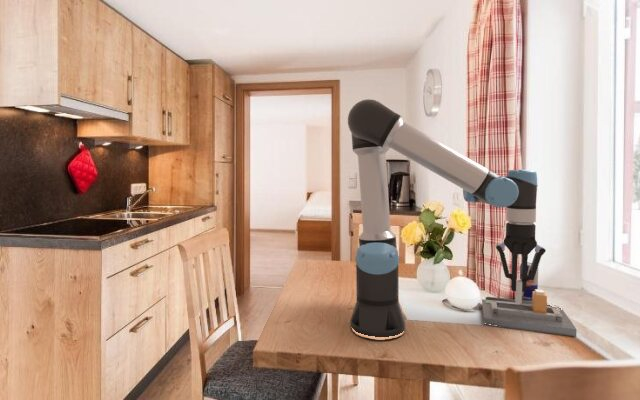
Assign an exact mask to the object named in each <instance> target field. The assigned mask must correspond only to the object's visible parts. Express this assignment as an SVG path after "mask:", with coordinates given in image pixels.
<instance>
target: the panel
mask: <svg viewBox="0 0 640 400" xmlns="http://www.w3.org/2000/svg"><path fill="white" fill-rule="evenodd" d="M481 309H482V317H484V318H483V324H484V323H486V324H491V325H497V326H496V327H498V326H501V327H500V328H507V329H515V330H522V331H530V332H539V333H547V334H554V335H560V336H561V335H562V336H568V337H577V328H576V326H575V325H574V324H573V322H572V320H571V319H570V318H569V316H568V315H567V314H566V312H565V311H564V309H563V308H562V310H561V308H559V307H552V306H547V312H546V313H544V312H535V311H532V304H523V303H522V304H519V303H514V302H504V301H495V300H486V299H481Z"/></svg>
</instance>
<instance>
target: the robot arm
mask: <svg viewBox="0 0 640 400" xmlns="http://www.w3.org/2000/svg"><path fill="white" fill-rule="evenodd" d="M347 115H348V116H347V126H348V128H349V129H348V130H349V131H350V132H351V145H352V153H354V154H356V155H357V159H358V160H357V162H358V174H359V175H358V176H359V177H358V178H359V192H360V204H361V205H360V207H361V218H362V219H361V220H362V221H361V222H362V232H361V233H360V235H359V236H358V248H357V249H356V253H355V258H354V259H355V264H356V265H355V267H356V268H355V269H356V271H355V272H356V273H355V274H356V276H355V278H356V302H355V304H354V308H353V312H352V314H351V317H350V328H351V327H352V328H353V329H354V330H355V331H356V332H358V333H361V334H364V335H368V336H375V337H389V336H395V335H398V334H400V333H402V332H403V331H404V330H405V331H406V321H405V319H404V316H403V313H402V310H401V306H400V304H399V303H400V302H399V292H400V291H399V264H400V255H399V251H398V248H397V235H396V234H395V233H394V231H392V229H391V219H390V217H391V216H390V215H391V214H390V201H389V198H390V197H389V187H388V186H389V185H388V169H387V152H388V151H389V150H390V149H392V150H394V151H396V152H397V153H398V154H401V155H403V156H405V157H406V158H408V159H410V160H411V161H412V162H415V163H417V164H418V165H421V166H422V167H424V168H426V169H427V170H429V171H431V172H432V173H434V174H435V175H438V176H440V177H442V178H443V179H445V180H447V181H448V182H449V183H452V184H453V185H456V186H457V187H459V188H461V189H462V195H463V200H464V201H466V202H467V203H483V204H486V205H490V206H492V207H495V208H506V212H505V213H506V215H505V216H506V217H505V221H507V222H506V223H505V237H504V239H503V242H501V243H499V244H498V243H497V244H495V248H496V250H497V252H498V253H499V257H500V261H501V265H502V270H503V273H504V277H505V278H506V279H509V280H510V288H511V292H514V300H515V302H516V303H519V304H522V300H523V299H522V292H526V283H527V281H528V280H534V277H535V274H536V271H537V268H538V269H539V265H540V261H541V258H542V256H543V255H544V254H545V253H546V248H545V247H543V246H541V245H540V244H538V242H537V240H536V225H535V223H536V221H537V196H538V195H537V193H538V175H537V171H536V170H534V169H510V170H508V171H507V174H506V176H501V175H499V174H498V173H495V172H494V171H493V170H490V169H489V168H487V167H485V166H483V165H481V164H480V163H478V162H476V161H474V160H472V159H470V158H469V157H467V156H466V155H463V154H462V153H460V152H458V151H456V150H455V149H453V148H451V147H449V146H447V145H446V144H444V143H442V142H440V141H439V140H437V139H435V138H433V137H431V136H430V135H428V134H426V133H424V132H422V131H420V130H419V129H418V128H415V127H414V126H412V125H410V124H408V123H406V122H404V119H403V116H402V115H400V114H398V113H397V112H395V111H394V110H391V109H390V108H389V107H387V106H386V105H384V104H383V103H381V102H380V101H378V100H375V99H370V98H367V99H362V100H360V101H358V102H357V103H355V104H354V105H353V106H352V108H351V109H350V110H349V112H348V114H347ZM506 248H507V250H508V251H509V253H511V266H510V267H511V268H510V269H511V270H509V267H508V263H507V258H506V254H505V252H504V251H505V250H506ZM533 250H534V252H535V253H534V256H533V258H532V262H531V263H532V264H531V268H530V271H529V274H528V275H527V262H528V257H529V254H531V253H532V251H533ZM519 255H521V258H520V259H521V261H520V265H521V279H520V278H517V277H518V259H519V257H518V256H519ZM509 271H510V272H509Z"/></svg>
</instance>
